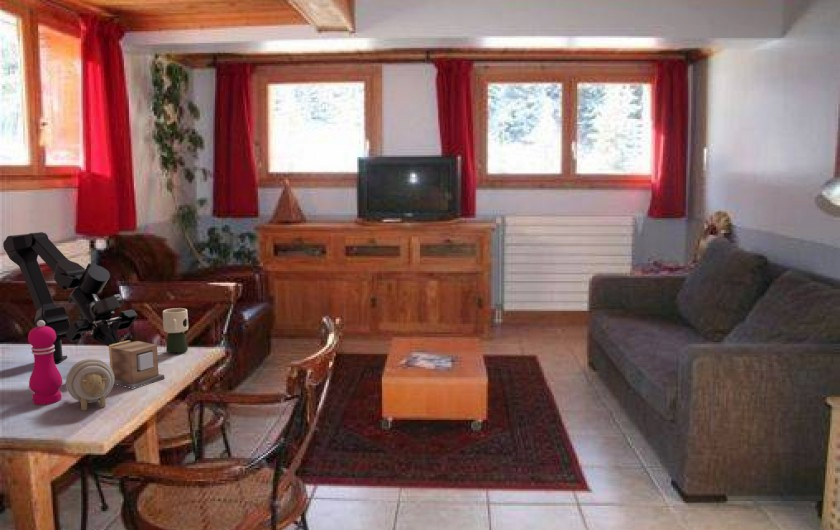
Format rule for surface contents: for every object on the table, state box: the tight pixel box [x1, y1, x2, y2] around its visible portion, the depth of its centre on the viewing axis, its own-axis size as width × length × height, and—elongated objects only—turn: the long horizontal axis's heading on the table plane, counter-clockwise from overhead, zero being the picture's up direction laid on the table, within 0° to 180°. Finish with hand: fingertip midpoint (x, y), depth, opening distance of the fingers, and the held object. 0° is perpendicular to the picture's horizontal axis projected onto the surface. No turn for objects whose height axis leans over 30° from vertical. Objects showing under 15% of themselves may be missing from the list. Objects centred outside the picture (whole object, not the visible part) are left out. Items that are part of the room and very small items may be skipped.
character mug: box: [162, 307, 189, 354], centre depth 220 cm, size 11×7×13 cm, turn 15°
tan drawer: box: [108, 340, 153, 371], centre depth 192 cm, size 11×6×7 cm, turn 59°
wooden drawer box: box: [111, 340, 165, 389], centre depth 194 cm, size 18×10×9 cm, turn 59°
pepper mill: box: [27, 320, 63, 405], centre depth 176 cm, size 7×7×20 cm
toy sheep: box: [65, 357, 115, 412], centre depth 174 cm, size 11×17×11 cm, turn 35°
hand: (118, 349), depth 195 cm, fingers closed, pressing on tan drawer
